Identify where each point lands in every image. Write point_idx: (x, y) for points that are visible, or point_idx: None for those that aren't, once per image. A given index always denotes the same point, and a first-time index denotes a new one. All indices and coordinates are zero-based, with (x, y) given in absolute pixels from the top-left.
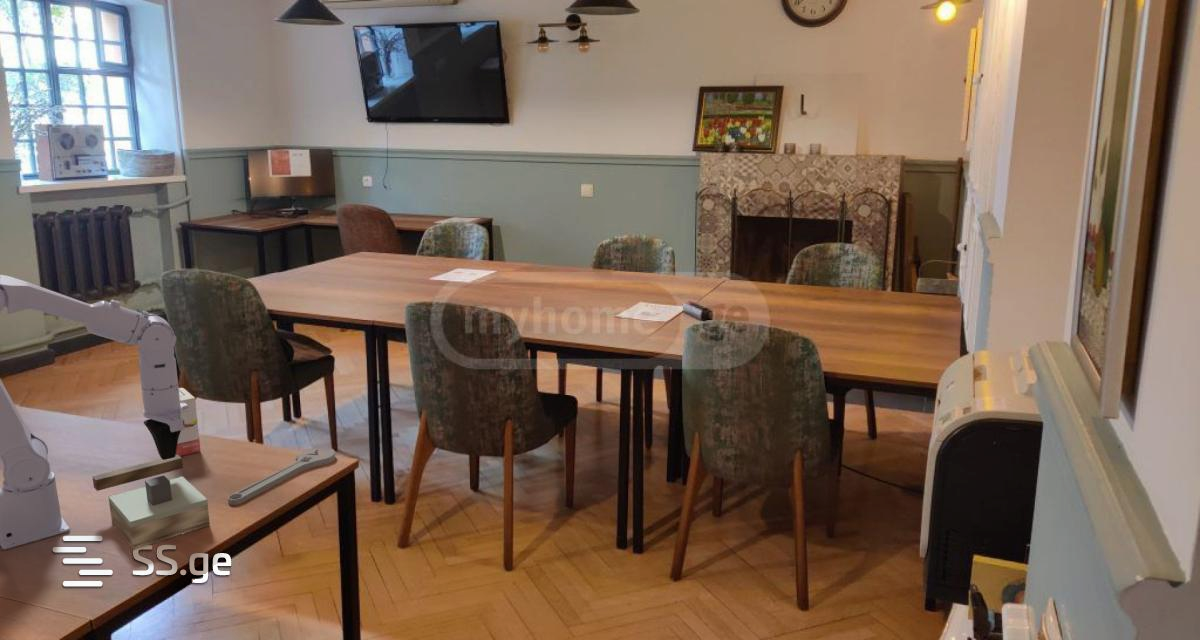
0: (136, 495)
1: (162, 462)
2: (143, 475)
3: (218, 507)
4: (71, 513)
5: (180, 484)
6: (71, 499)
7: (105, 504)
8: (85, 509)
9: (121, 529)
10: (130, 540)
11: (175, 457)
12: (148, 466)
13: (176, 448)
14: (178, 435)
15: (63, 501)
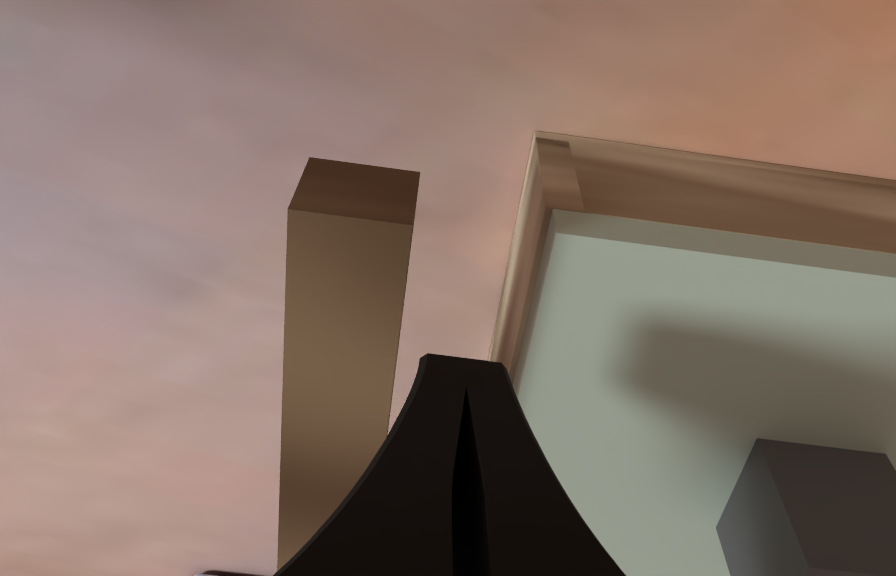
0: (598, 539)
1: (380, 377)
2: None
3: (838, 16)
4: (211, 534)
5: (698, 312)
6: (32, 487)
7: (212, 421)
8: (207, 490)
9: None
10: None
11: (346, 255)
12: None
13: (523, 416)
14: (609, 562)
15: (35, 512)
